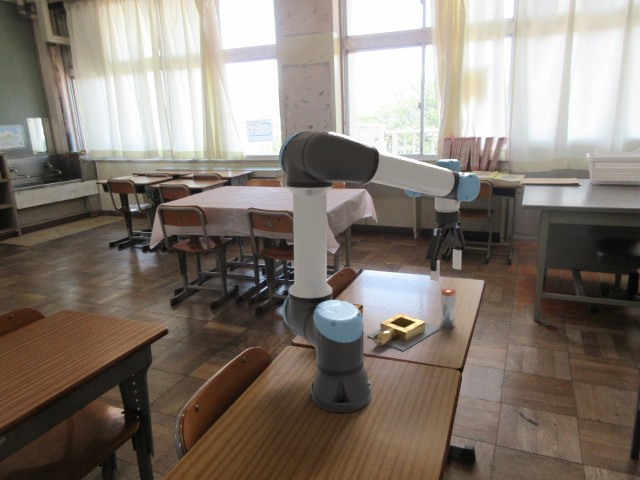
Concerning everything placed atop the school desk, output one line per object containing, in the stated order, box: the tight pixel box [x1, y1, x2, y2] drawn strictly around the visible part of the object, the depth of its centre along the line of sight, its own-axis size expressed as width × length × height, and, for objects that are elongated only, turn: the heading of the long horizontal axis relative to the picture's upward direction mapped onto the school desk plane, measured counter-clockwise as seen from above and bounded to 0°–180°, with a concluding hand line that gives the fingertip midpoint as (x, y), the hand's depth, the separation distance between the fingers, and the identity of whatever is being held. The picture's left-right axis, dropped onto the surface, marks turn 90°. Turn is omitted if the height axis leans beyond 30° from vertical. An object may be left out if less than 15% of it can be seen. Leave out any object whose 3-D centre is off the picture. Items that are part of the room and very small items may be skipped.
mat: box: [367, 322, 442, 352], centre depth 143 cm, size 20×14×1 cm
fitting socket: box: [373, 313, 426, 347], centre depth 139 cm, size 17×10×4 cm, turn 133°
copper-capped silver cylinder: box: [439, 288, 456, 329], centre depth 145 cm, size 5×5×12 cm
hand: (446, 274), depth 143 cm, fingers open, 13 cm apart
